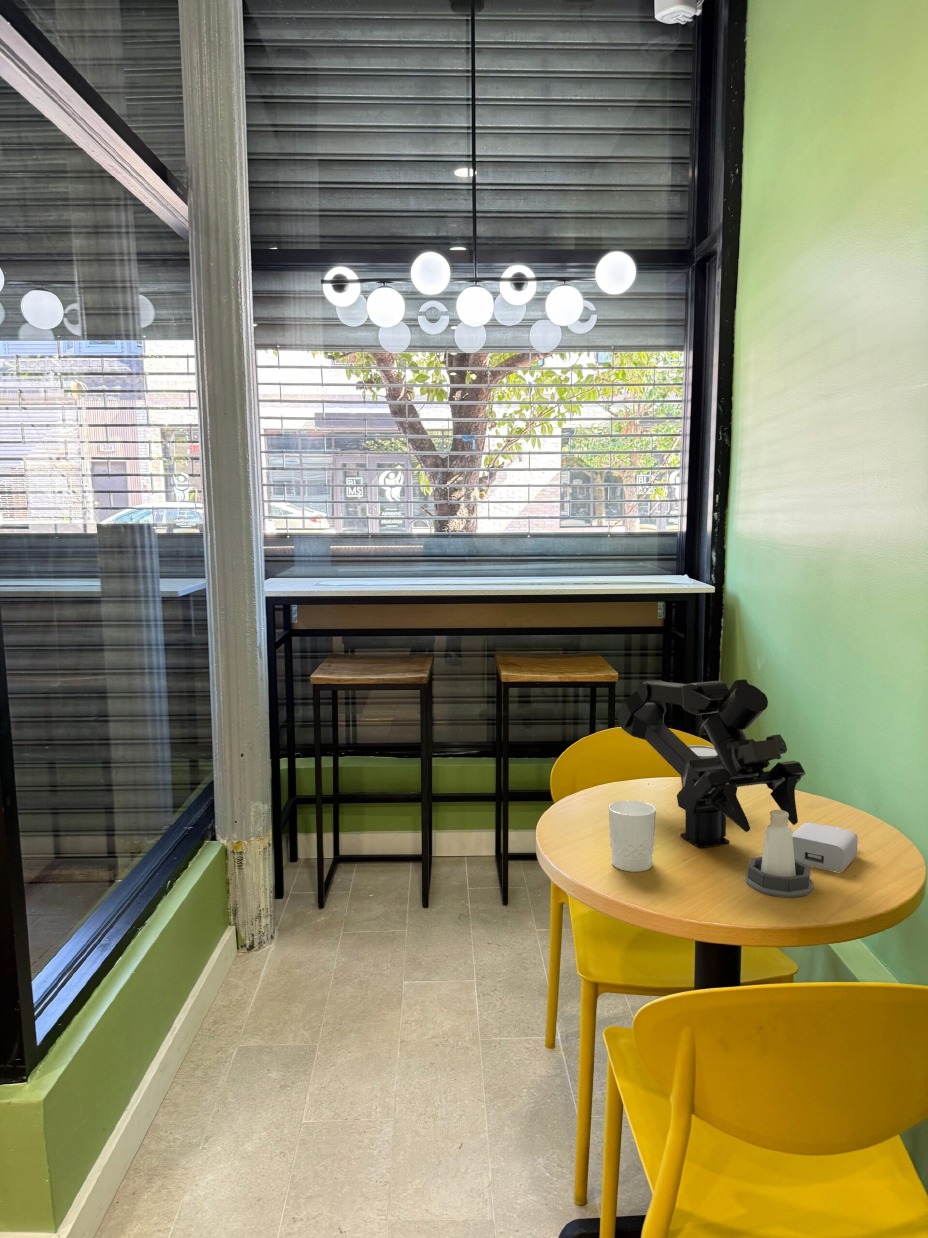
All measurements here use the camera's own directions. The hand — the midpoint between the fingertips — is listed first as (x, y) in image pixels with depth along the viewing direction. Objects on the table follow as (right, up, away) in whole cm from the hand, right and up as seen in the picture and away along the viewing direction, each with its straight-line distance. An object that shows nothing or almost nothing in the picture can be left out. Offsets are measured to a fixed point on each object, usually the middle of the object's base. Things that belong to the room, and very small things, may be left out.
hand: (772, 827), depth 129 cm
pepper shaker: (+1, -8, -1) cm, 8 cm away
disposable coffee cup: (-1, -6, +36) cm, 37 cm away
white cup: (-21, -9, +8) cm, 24 cm away
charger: (+14, -8, +11) cm, 20 cm away
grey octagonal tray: (+1, -9, -1) cm, 9 cm away
